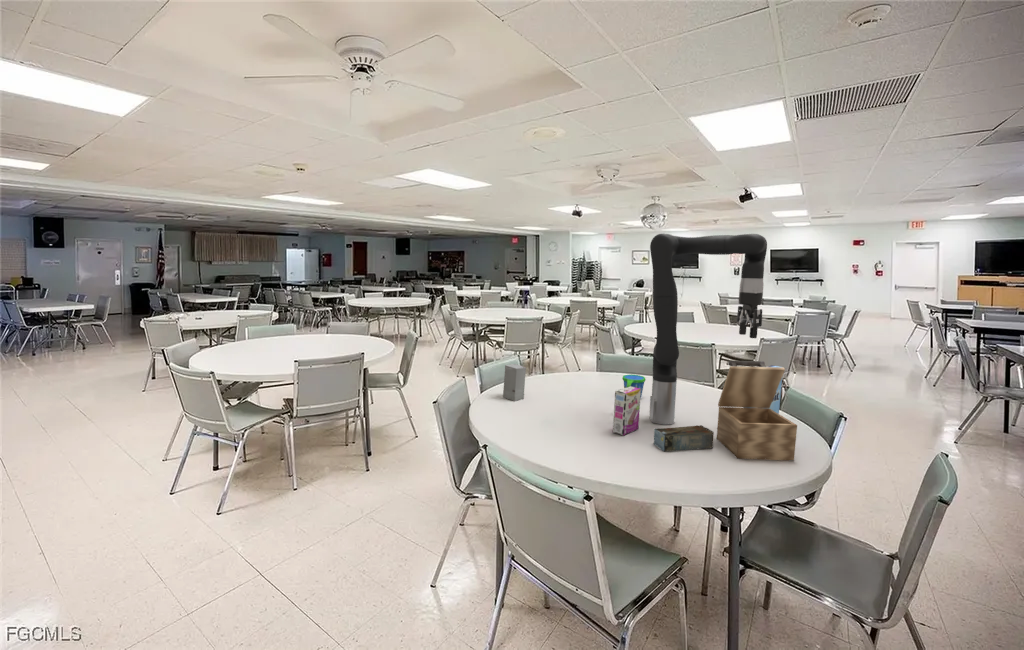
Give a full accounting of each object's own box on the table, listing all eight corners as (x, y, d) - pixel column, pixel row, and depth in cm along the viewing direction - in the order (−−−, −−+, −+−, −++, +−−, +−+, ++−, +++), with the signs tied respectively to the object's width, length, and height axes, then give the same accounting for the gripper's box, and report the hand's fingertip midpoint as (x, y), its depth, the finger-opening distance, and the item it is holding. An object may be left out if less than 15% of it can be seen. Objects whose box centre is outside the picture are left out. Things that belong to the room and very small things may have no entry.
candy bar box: (623, 436, 171) (625, 393, 169) (612, 432, 174) (614, 390, 172) (639, 429, 179) (641, 388, 177) (628, 426, 182) (630, 385, 180)
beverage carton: (652, 443, 165) (653, 426, 164) (700, 440, 168) (702, 423, 167) (663, 452, 157) (664, 433, 156) (714, 449, 160) (715, 431, 160)
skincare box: (502, 397, 219) (503, 365, 217) (513, 395, 224) (514, 363, 222) (514, 401, 213) (515, 368, 211) (525, 398, 218) (526, 366, 216)
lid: (731, 368, 158) (722, 352, 166) (718, 406, 168) (711, 390, 176) (785, 369, 157) (774, 353, 165) (769, 408, 167) (759, 391, 175)
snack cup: (636, 403, 213) (637, 381, 212) (615, 399, 220) (616, 378, 218) (649, 396, 225) (651, 375, 224) (629, 392, 232) (630, 372, 230)
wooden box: (737, 458, 152) (740, 423, 150) (716, 438, 170) (718, 407, 168) (793, 460, 151) (797, 425, 149) (766, 440, 169) (769, 408, 167)
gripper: (731, 290, 171) (728, 333, 173) (749, 292, 157) (745, 339, 159) (752, 290, 171) (749, 333, 173) (772, 292, 157) (768, 339, 159)
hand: (747, 336), depth 166 cm, fingers open, 8 cm apart
